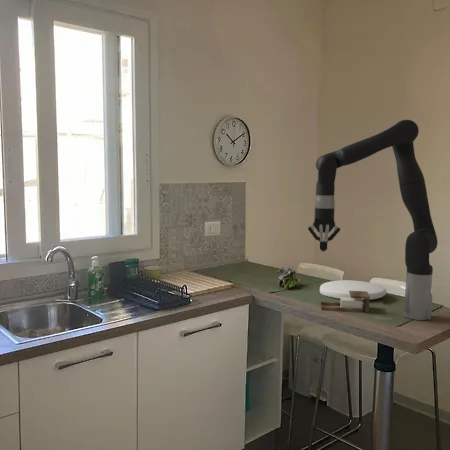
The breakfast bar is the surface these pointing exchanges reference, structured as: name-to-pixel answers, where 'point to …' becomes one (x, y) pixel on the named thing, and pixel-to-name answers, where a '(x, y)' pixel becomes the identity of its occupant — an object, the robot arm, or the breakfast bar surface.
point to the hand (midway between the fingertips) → (323, 250)
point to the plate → (351, 289)
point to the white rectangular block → (351, 302)
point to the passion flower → (288, 274)
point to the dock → (336, 307)
